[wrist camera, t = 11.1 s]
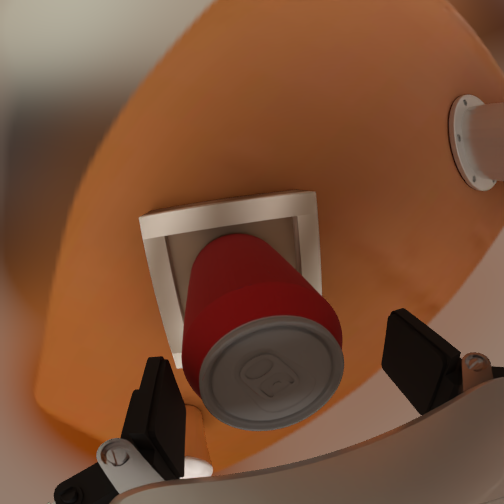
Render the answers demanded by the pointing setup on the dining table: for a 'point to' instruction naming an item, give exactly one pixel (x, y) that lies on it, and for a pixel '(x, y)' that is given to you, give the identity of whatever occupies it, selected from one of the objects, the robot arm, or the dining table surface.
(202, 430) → the milkshake
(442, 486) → the robot arm
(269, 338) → the beverage can
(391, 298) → the dining table surface
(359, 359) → the dining table surface
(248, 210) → the white square tray
